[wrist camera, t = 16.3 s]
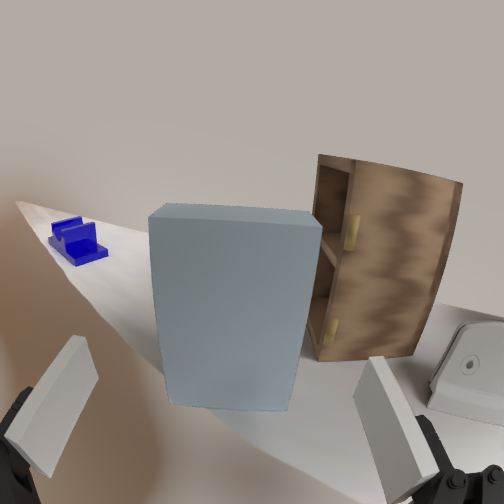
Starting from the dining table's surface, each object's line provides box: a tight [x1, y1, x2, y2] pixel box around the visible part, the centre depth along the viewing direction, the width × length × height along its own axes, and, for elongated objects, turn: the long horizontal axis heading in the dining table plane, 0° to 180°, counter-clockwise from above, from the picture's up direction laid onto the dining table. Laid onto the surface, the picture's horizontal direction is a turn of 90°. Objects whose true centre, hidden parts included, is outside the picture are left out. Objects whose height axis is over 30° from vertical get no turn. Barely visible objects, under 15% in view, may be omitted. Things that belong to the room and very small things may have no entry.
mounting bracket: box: [48, 216, 108, 267], centre depth 51 cm, size 18×7×6 cm, turn 55°
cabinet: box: [307, 154, 463, 362], centre depth 31 cm, size 12×14×20 cm
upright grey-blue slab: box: [148, 203, 323, 411], centre depth 21 cm, size 10×5×16 cm, turn 91°
